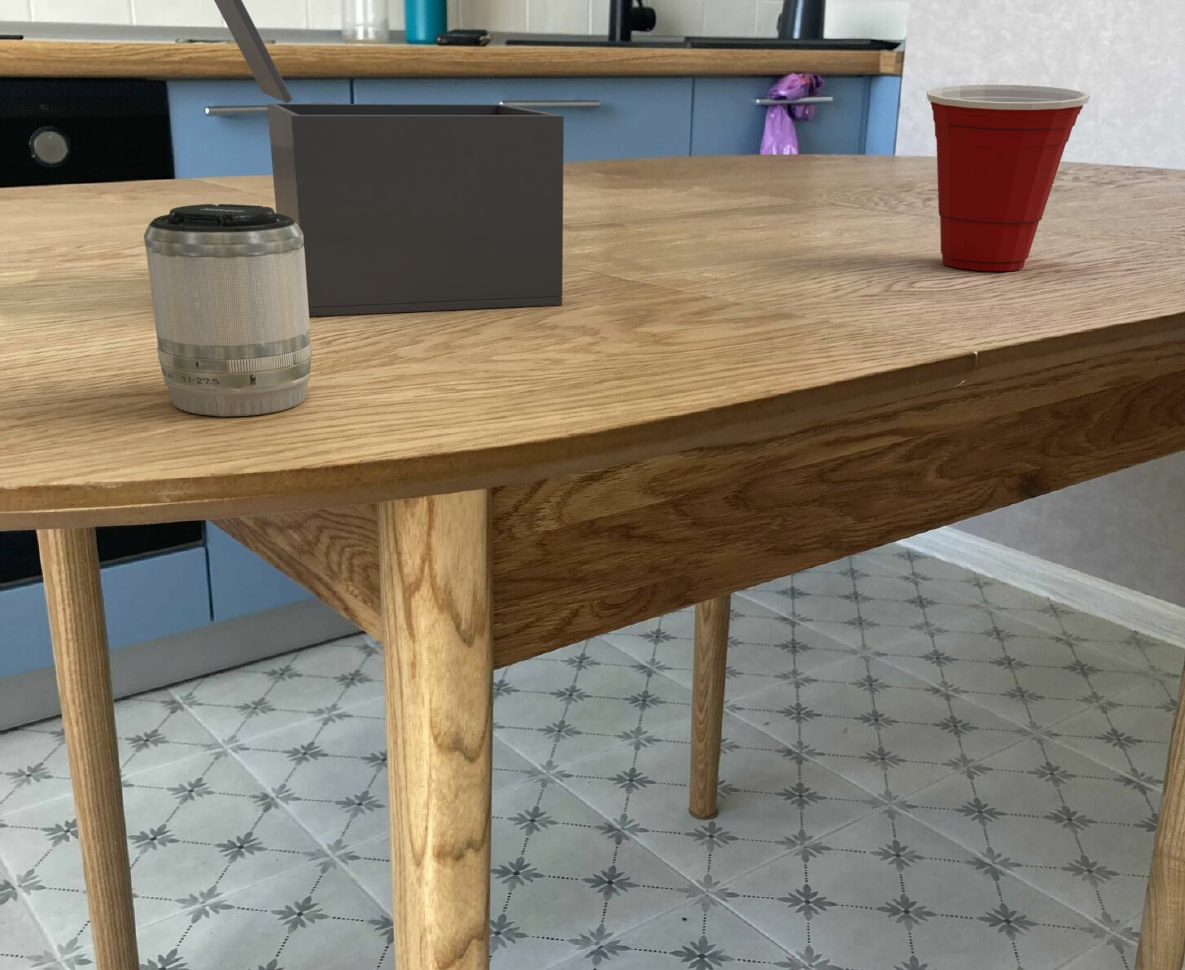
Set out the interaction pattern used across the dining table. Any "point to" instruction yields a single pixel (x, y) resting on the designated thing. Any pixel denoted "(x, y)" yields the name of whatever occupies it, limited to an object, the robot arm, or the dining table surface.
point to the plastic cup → (997, 167)
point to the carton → (422, 204)
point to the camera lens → (230, 308)
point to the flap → (253, 49)
